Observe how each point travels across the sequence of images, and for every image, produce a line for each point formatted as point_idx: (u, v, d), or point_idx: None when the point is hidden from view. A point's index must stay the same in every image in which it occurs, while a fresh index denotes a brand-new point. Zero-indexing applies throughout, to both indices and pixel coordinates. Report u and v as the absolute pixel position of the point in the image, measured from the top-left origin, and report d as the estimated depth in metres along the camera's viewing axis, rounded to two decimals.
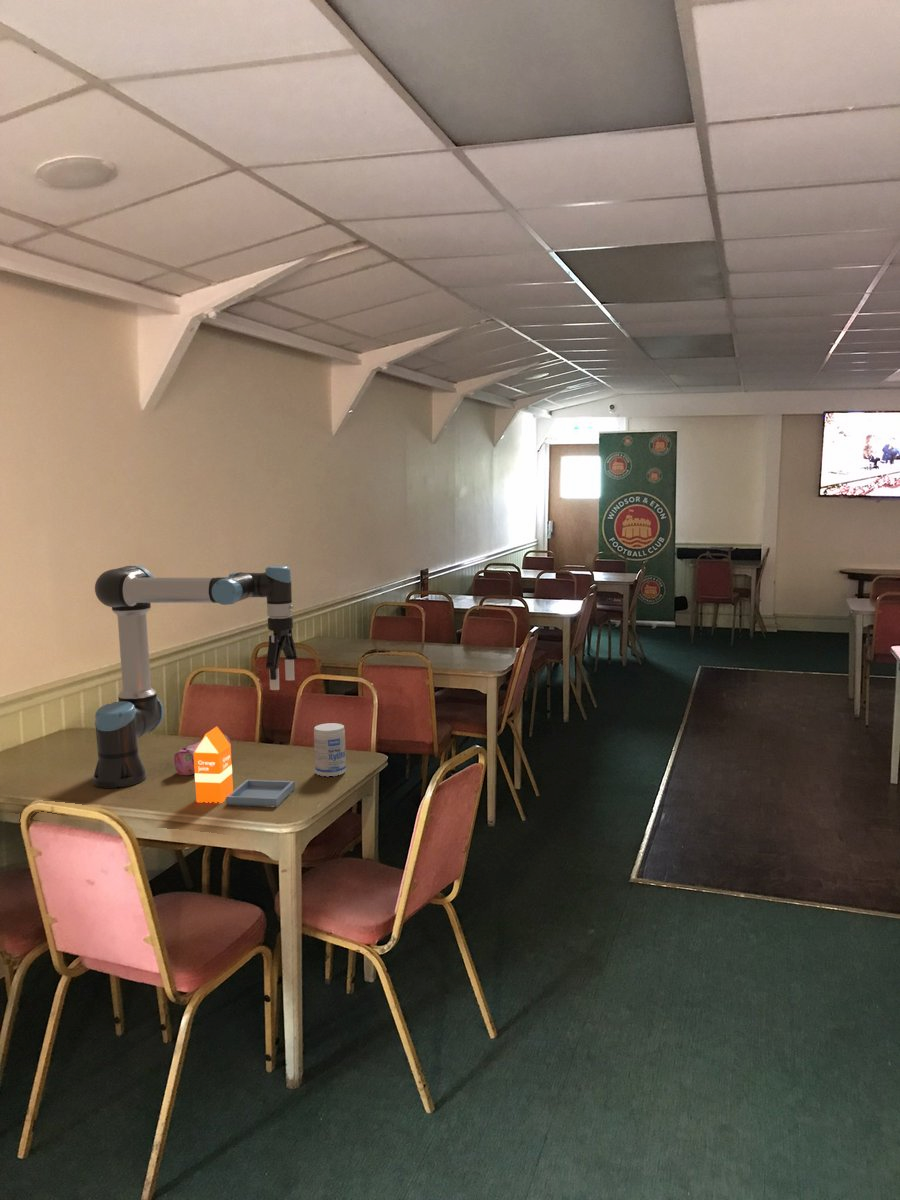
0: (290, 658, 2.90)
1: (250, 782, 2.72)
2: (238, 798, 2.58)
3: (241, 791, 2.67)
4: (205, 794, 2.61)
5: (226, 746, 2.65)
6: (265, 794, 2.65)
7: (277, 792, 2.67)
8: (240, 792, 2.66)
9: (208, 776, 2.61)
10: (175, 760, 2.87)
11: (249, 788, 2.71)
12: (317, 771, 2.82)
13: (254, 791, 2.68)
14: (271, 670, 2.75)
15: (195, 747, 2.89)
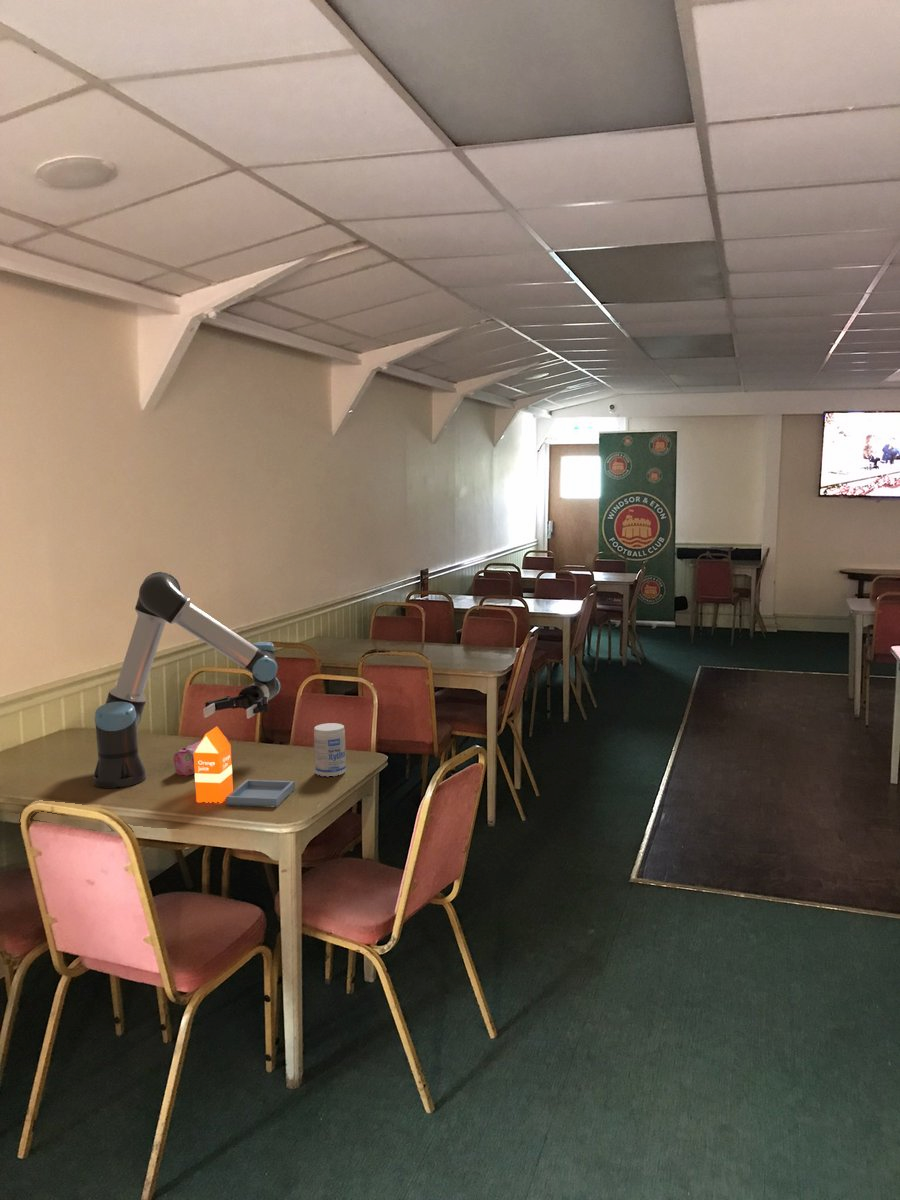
0: None
1: (250, 782, 2.72)
2: (238, 798, 2.58)
3: (241, 791, 2.67)
4: (205, 794, 2.61)
5: (226, 746, 2.65)
6: (265, 794, 2.65)
7: (277, 792, 2.67)
8: (240, 792, 2.66)
9: (208, 776, 2.61)
10: (174, 761, 2.87)
11: (249, 788, 2.71)
12: (317, 771, 2.82)
13: (254, 791, 2.68)
14: (260, 708, 2.78)
15: (194, 747, 2.89)
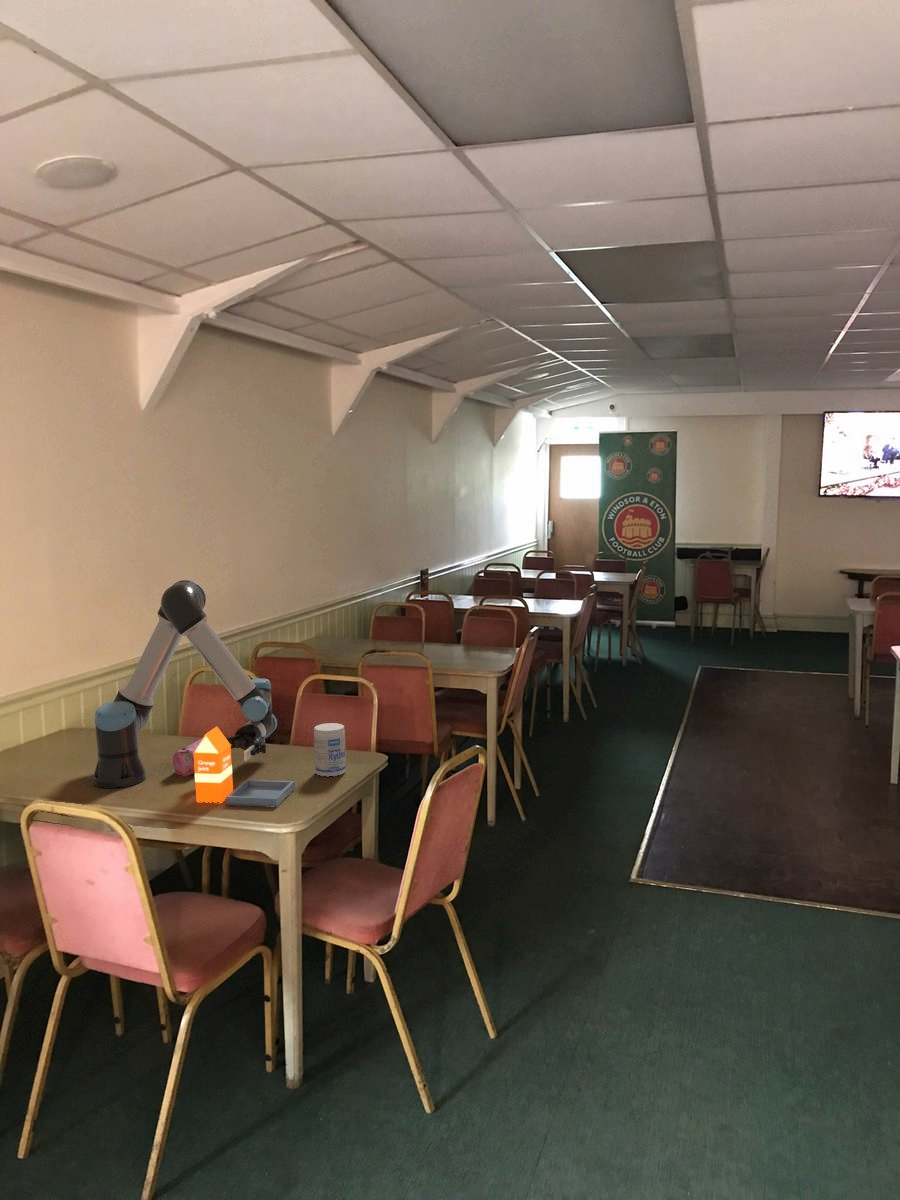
0: None
1: (250, 782, 2.72)
2: (238, 798, 2.58)
3: (241, 791, 2.67)
4: (205, 794, 2.61)
5: (226, 746, 2.65)
6: (265, 794, 2.65)
7: (277, 792, 2.67)
8: (240, 792, 2.66)
9: (208, 776, 2.61)
10: (174, 761, 2.86)
11: (249, 788, 2.71)
12: (317, 771, 2.82)
13: (254, 791, 2.68)
14: (257, 749, 2.74)
15: (193, 747, 2.89)
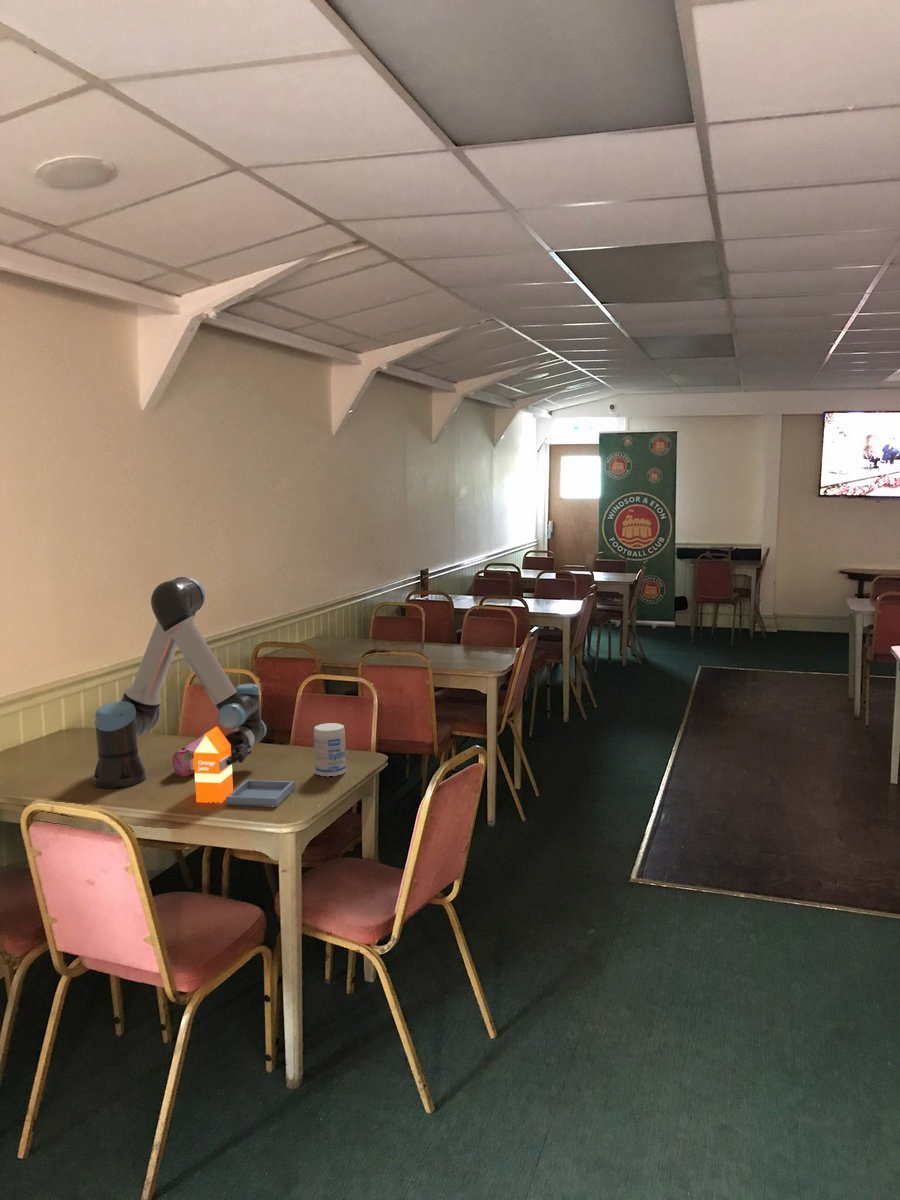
0: None
1: (250, 782, 2.72)
2: (238, 798, 2.58)
3: (241, 791, 2.67)
4: (205, 794, 2.61)
5: (226, 746, 2.65)
6: (265, 794, 2.65)
7: (277, 792, 2.67)
8: (240, 792, 2.66)
9: (208, 776, 2.61)
10: (173, 761, 2.86)
11: (249, 788, 2.71)
12: (317, 771, 2.82)
13: (254, 791, 2.68)
14: (234, 758, 2.65)
15: (192, 747, 2.89)
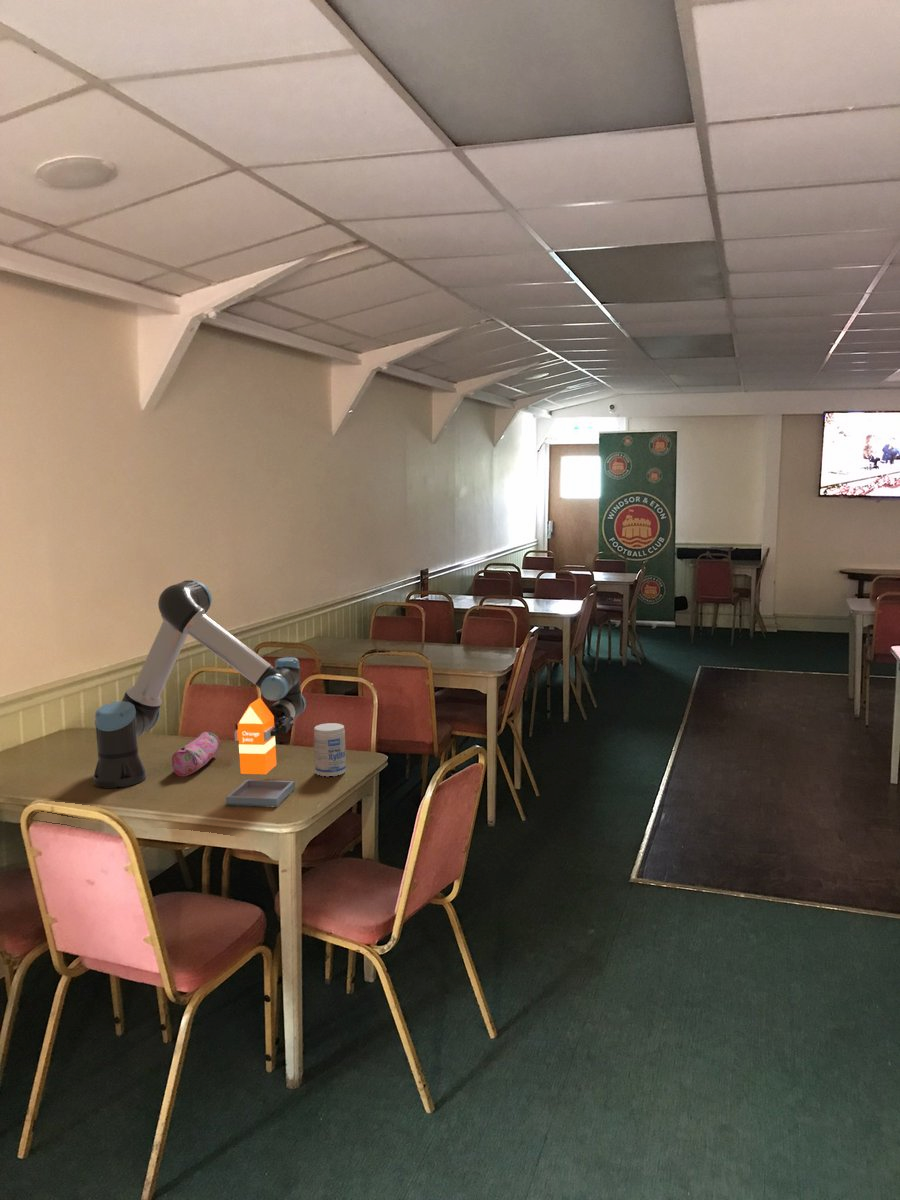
0: None
1: (250, 782, 2.72)
2: (238, 798, 2.58)
3: (241, 791, 2.67)
4: (249, 765, 2.59)
5: (270, 717, 2.63)
6: (265, 794, 2.65)
7: (277, 792, 2.67)
8: (240, 792, 2.66)
9: (253, 747, 2.59)
10: (173, 761, 2.86)
11: (249, 788, 2.71)
12: (317, 771, 2.82)
13: (254, 791, 2.68)
14: (277, 730, 2.63)
15: (192, 747, 2.89)
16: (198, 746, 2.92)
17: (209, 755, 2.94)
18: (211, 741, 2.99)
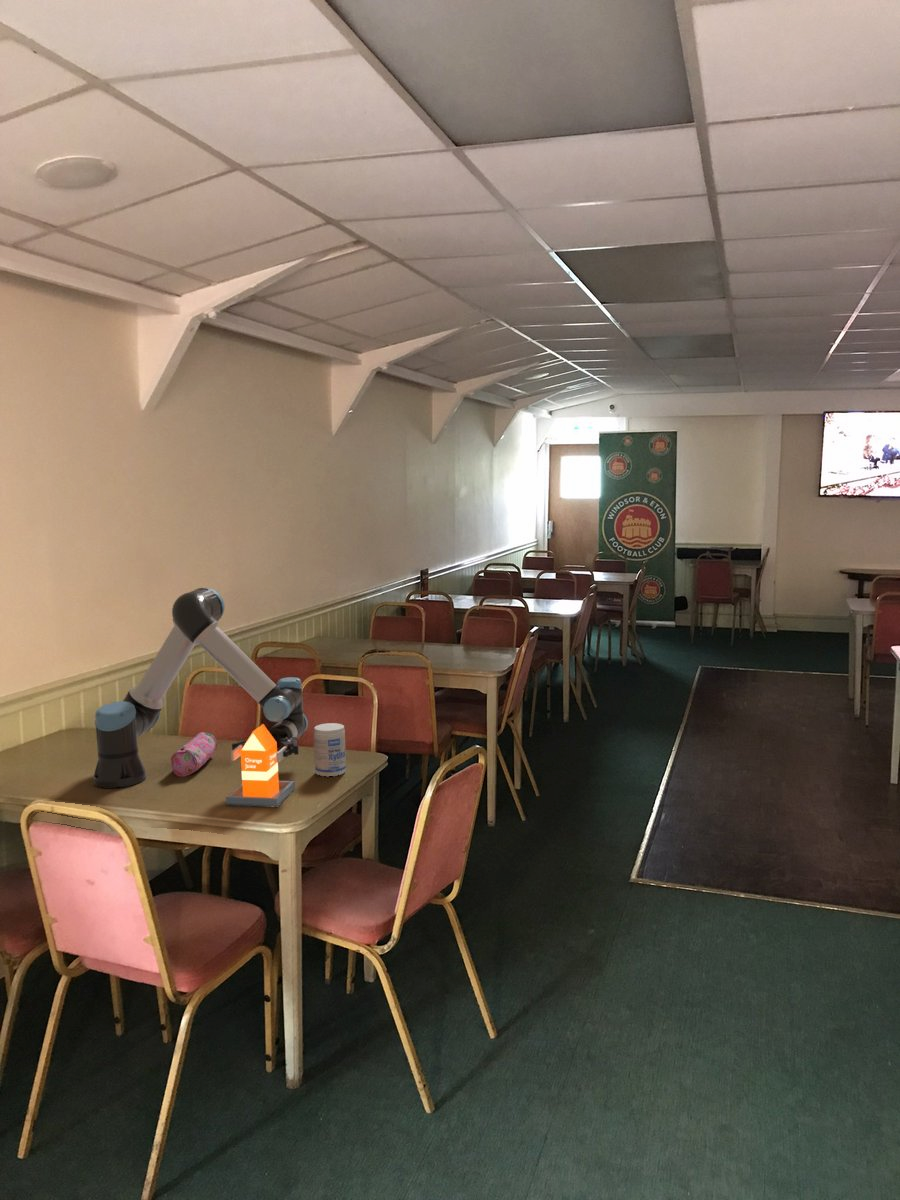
0: None
1: None
2: (238, 798, 2.58)
3: (241, 791, 2.67)
4: (252, 792, 2.60)
5: (272, 744, 2.64)
6: None
7: (277, 792, 2.67)
8: (240, 792, 2.66)
9: (255, 774, 2.60)
10: (172, 762, 2.86)
11: None
12: (317, 771, 2.82)
13: None
14: (290, 750, 2.65)
15: (190, 747, 2.89)
16: (197, 746, 2.92)
17: (207, 755, 2.94)
18: (208, 741, 2.99)
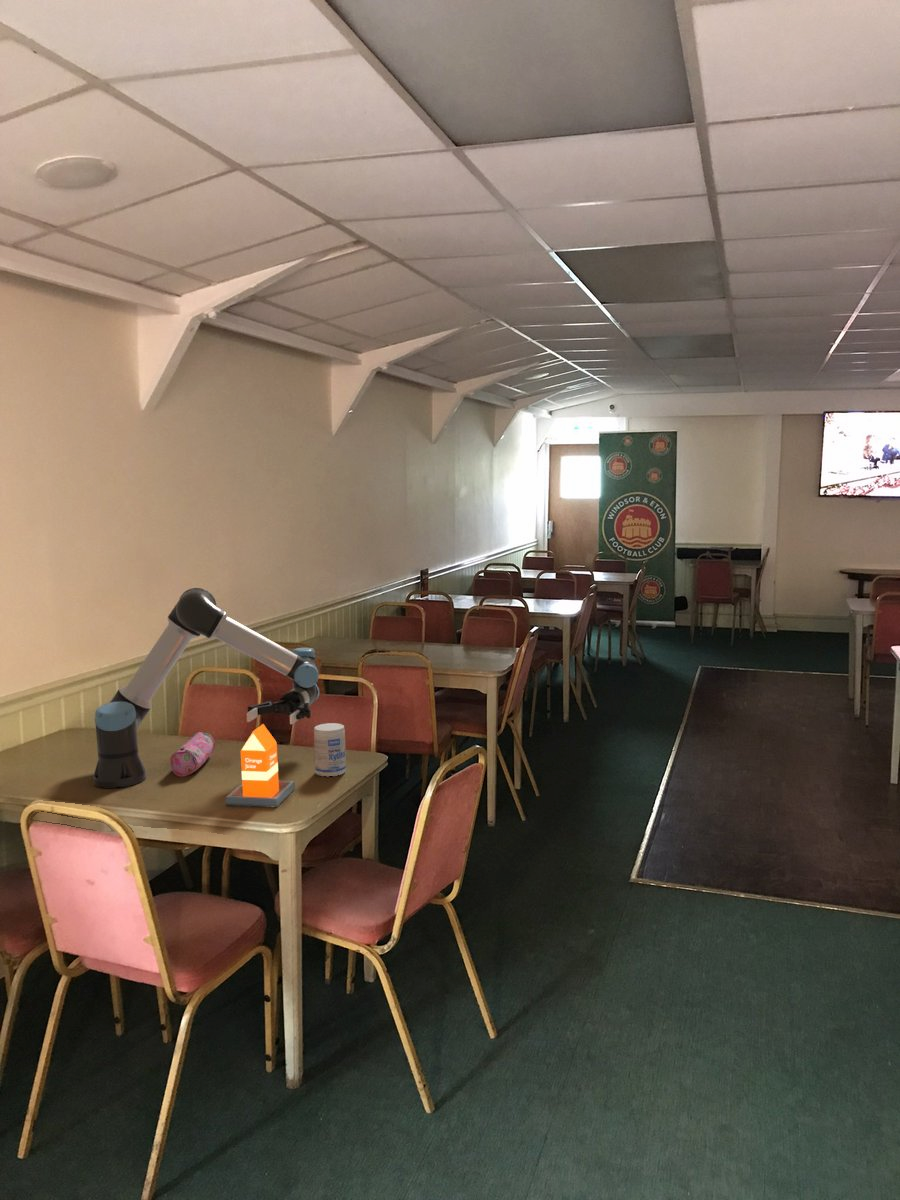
0: None
1: None
2: (238, 798, 2.58)
3: (241, 791, 2.67)
4: (252, 792, 2.60)
5: (272, 744, 2.64)
6: None
7: (277, 792, 2.67)
8: (240, 792, 2.66)
9: (255, 774, 2.60)
10: (171, 762, 2.85)
11: None
12: (317, 771, 2.82)
13: None
14: (302, 714, 2.80)
15: (190, 747, 2.89)
16: (196, 746, 2.92)
17: (206, 755, 2.94)
18: (207, 741, 2.99)
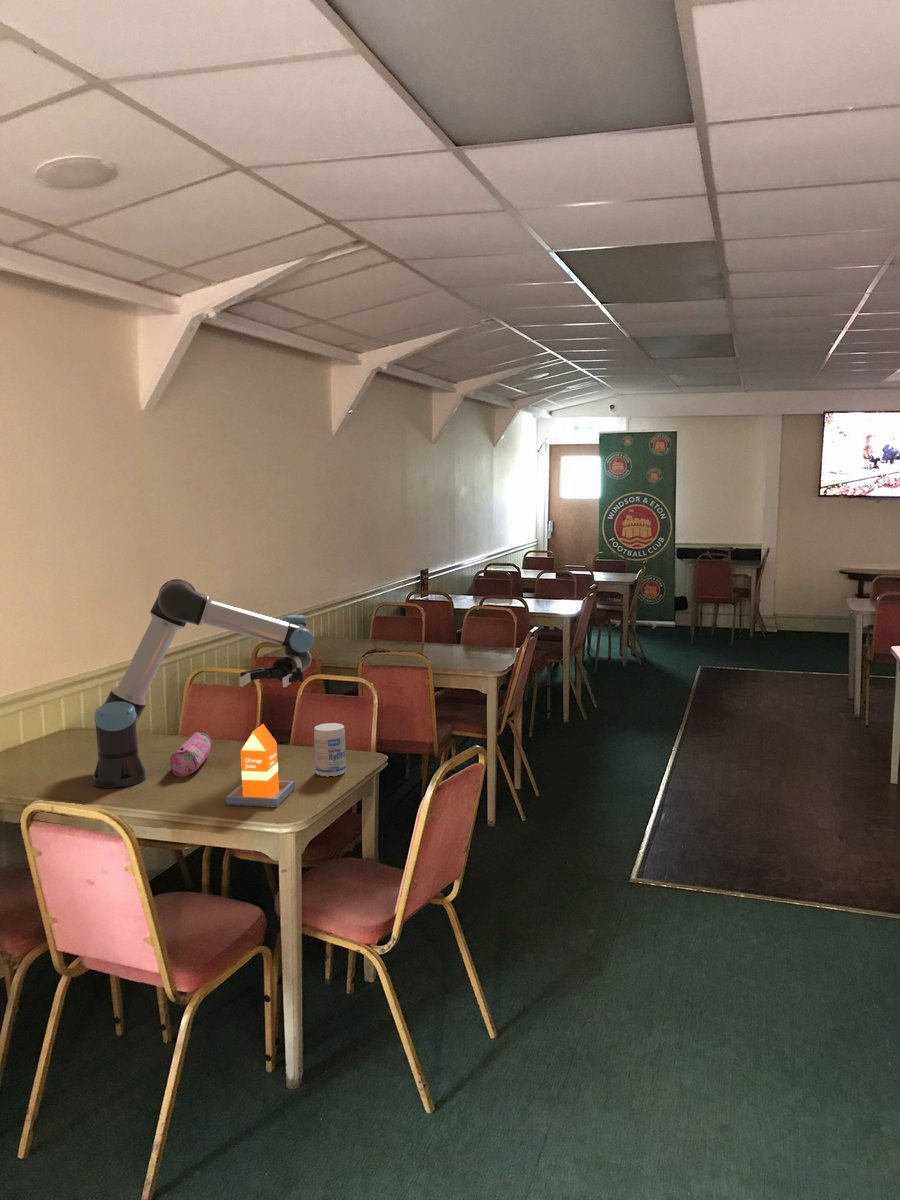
0: None
1: None
2: (238, 798, 2.58)
3: (241, 791, 2.67)
4: (252, 792, 2.60)
5: (272, 744, 2.64)
6: None
7: (277, 792, 2.67)
8: (240, 792, 2.66)
9: (255, 774, 2.60)
10: (171, 762, 2.85)
11: None
12: (317, 771, 2.82)
13: None
14: (295, 677, 2.82)
15: (189, 747, 2.89)
16: (194, 746, 2.92)
17: (205, 755, 2.94)
18: (204, 741, 2.99)
